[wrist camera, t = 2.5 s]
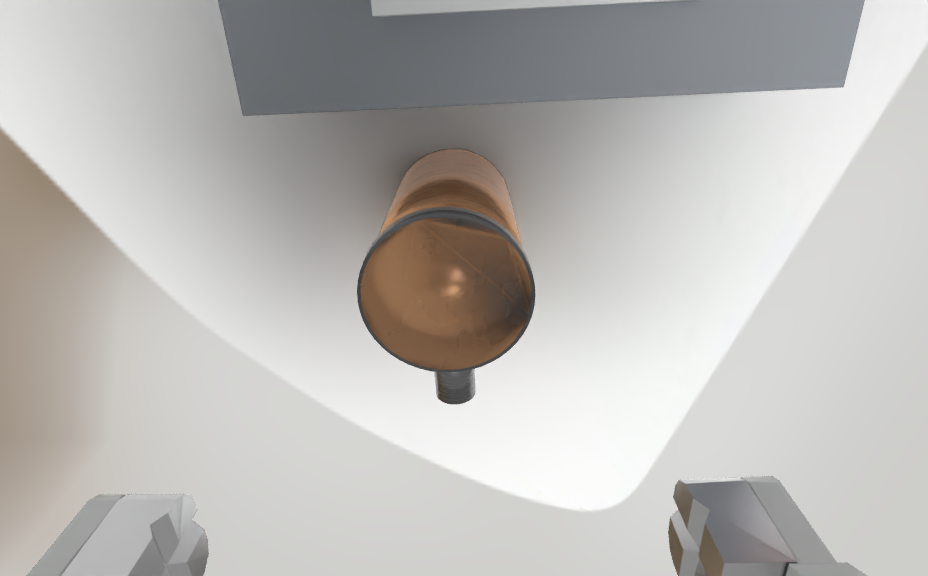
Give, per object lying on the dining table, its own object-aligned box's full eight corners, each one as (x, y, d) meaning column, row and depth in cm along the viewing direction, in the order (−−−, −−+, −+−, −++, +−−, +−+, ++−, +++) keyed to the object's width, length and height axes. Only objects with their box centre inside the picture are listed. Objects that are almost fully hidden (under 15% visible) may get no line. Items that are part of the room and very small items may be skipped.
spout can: (388, 149, 23) (345, 217, 15) (511, 143, 23) (535, 209, 15) (404, 302, 26) (376, 427, 18) (512, 298, 26) (533, 422, 18)
